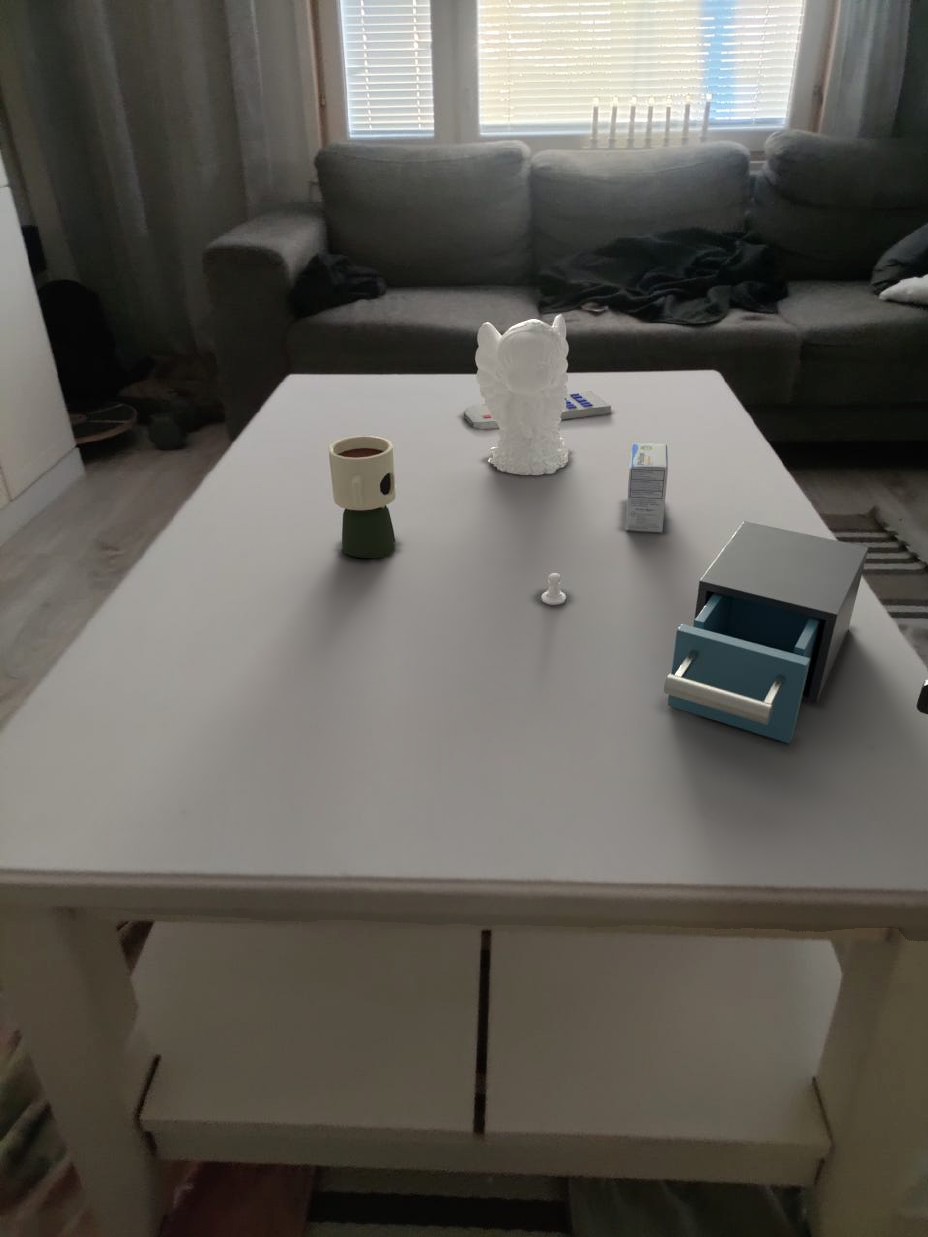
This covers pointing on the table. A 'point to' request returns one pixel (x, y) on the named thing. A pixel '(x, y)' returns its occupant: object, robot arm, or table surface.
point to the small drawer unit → (791, 583)
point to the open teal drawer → (745, 665)
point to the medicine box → (647, 487)
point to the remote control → (575, 408)
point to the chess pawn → (553, 591)
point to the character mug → (364, 494)
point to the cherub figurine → (525, 393)
